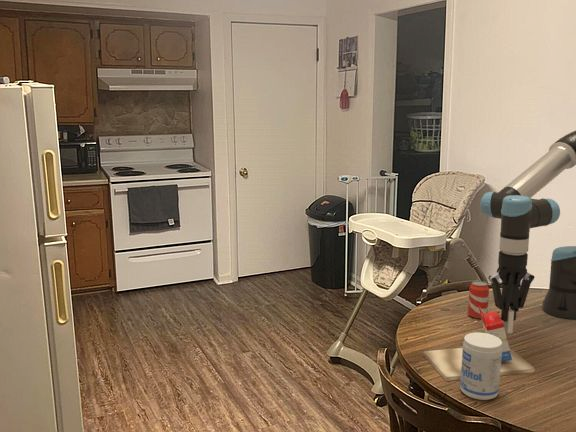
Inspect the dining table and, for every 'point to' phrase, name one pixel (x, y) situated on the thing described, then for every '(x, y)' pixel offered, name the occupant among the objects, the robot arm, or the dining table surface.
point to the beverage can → (478, 298)
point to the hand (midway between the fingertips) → (507, 331)
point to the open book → (451, 363)
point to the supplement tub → (481, 365)
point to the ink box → (496, 331)
